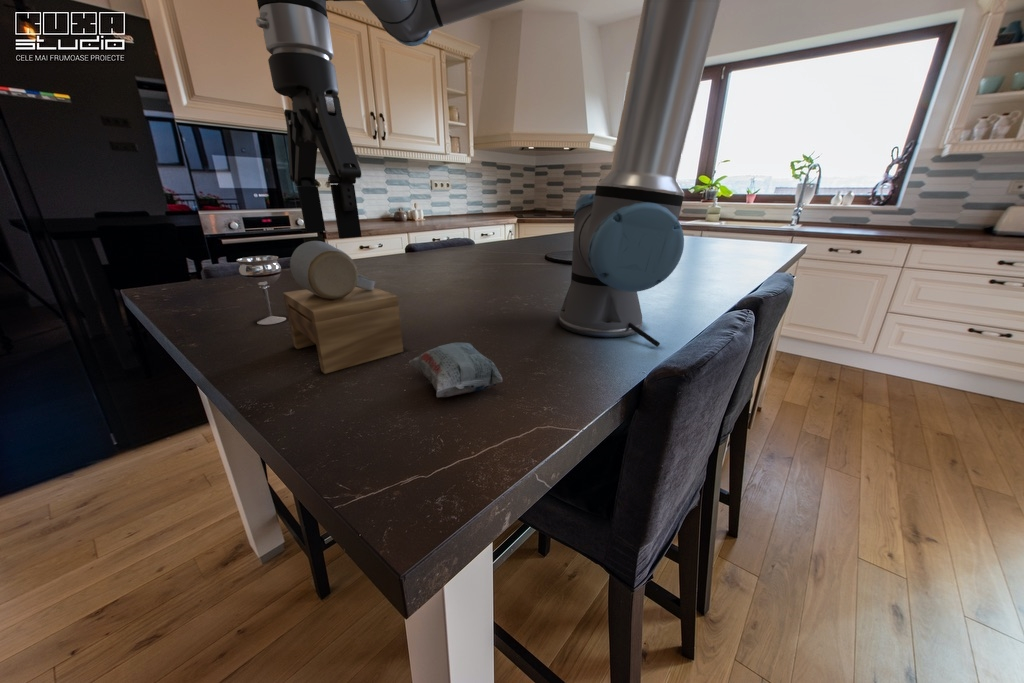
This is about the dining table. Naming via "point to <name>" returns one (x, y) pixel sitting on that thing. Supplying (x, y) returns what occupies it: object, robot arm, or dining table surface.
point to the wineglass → (262, 278)
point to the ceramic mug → (326, 270)
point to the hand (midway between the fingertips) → (331, 234)
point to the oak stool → (345, 326)
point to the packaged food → (457, 369)
